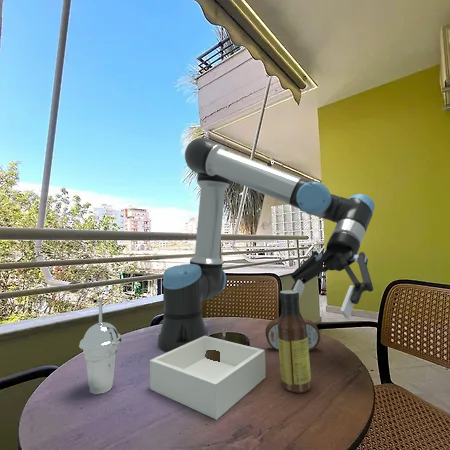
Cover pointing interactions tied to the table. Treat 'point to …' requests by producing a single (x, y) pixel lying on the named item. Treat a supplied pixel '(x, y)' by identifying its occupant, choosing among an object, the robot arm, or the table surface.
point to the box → (208, 374)
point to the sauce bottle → (293, 344)
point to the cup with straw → (100, 354)
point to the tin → (310, 327)
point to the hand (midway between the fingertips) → (315, 309)
